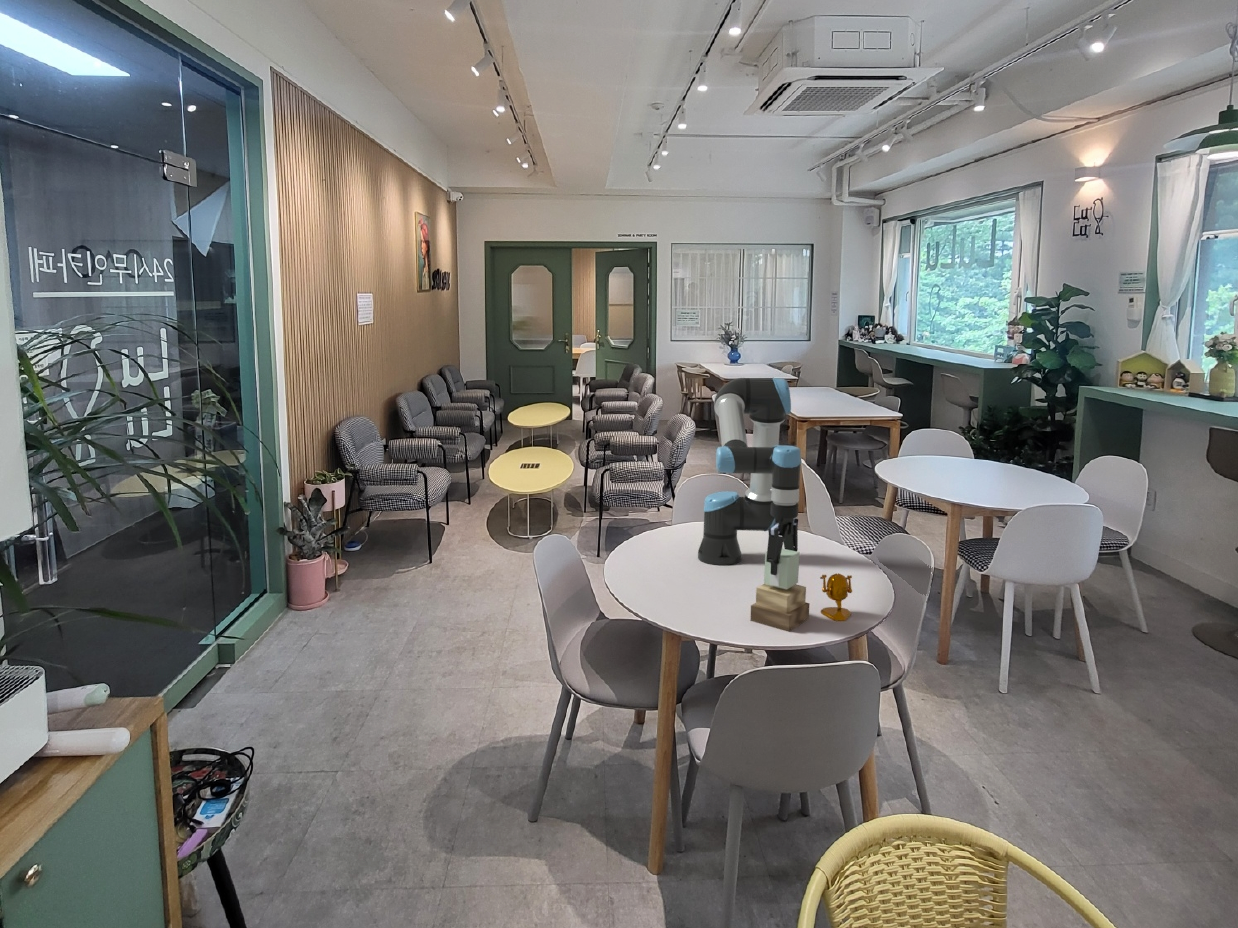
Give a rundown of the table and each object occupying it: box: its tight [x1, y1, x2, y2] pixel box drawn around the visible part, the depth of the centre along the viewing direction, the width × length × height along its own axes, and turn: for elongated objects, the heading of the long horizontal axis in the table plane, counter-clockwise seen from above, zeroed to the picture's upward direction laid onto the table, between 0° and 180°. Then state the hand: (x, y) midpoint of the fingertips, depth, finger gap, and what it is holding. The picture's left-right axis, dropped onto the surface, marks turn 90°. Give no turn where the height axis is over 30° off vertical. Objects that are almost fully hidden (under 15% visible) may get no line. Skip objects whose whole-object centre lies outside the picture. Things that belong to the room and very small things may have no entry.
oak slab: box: [755, 583, 807, 614], centre depth 230 cm, size 10×10×5 cm
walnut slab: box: [749, 601, 810, 633], centre depth 231 cm, size 12×12×5 cm
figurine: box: [819, 573, 853, 622], centre depth 234 cm, size 8×11×12 cm
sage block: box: [763, 548, 800, 589], centre depth 228 cm, size 7×7×9 cm
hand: (781, 581), depth 229 cm, fingers closed on sage block, 7 cm apart
